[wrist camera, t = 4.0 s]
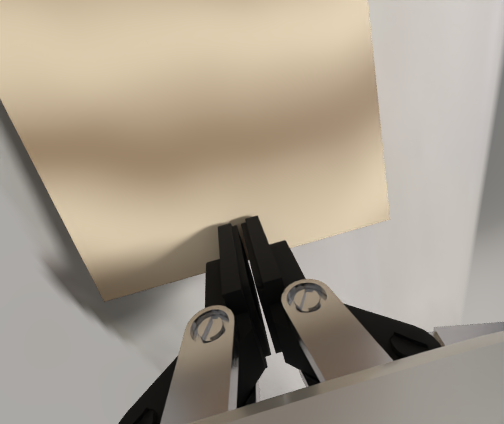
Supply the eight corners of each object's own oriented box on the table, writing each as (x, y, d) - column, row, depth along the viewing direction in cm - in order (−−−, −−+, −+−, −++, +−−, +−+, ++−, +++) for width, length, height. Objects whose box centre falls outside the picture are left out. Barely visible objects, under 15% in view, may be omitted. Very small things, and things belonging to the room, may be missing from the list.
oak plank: (-14, 9, 9) (-58, -14, 8) (335, -78, 9) (356, -116, 8) (117, 282, 12) (104, 301, 11) (371, 209, 13) (390, 219, 11)
